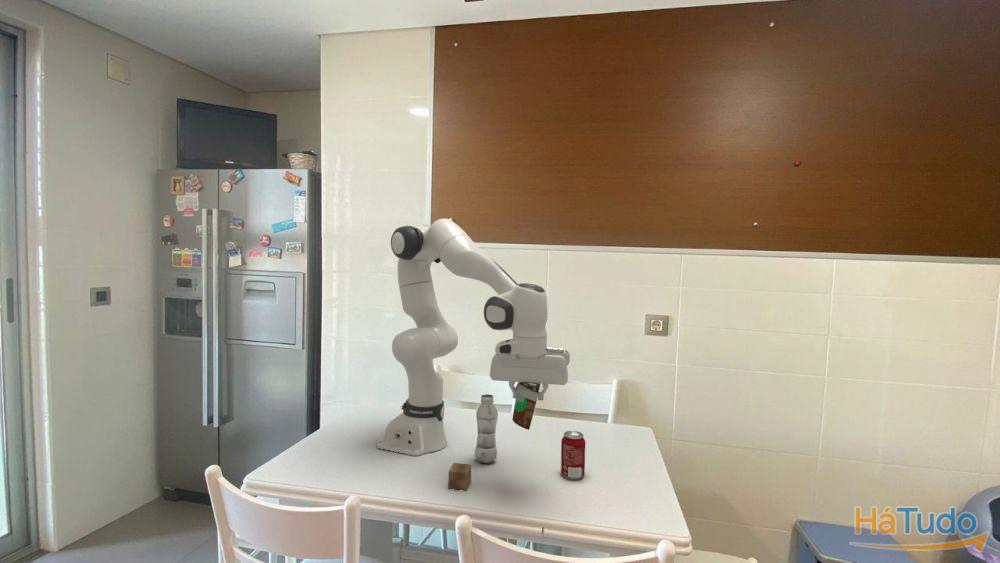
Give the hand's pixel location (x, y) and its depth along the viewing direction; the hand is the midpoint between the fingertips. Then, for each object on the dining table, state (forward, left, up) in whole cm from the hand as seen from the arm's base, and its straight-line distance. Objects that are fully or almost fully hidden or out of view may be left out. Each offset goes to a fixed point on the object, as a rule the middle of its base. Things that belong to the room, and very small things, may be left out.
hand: (528, 398), depth 117 cm
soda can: (+12, +12, -25) cm, 30 cm away
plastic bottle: (-14, +16, -25) cm, 33 cm away
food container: (-2, 0, -6) cm, 6 cm away
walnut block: (-18, 0, -25) cm, 31 cm away
